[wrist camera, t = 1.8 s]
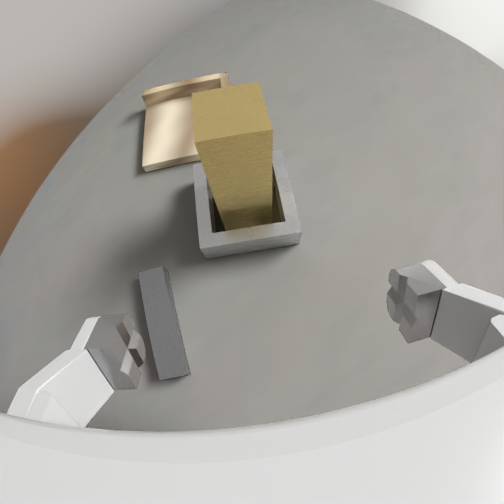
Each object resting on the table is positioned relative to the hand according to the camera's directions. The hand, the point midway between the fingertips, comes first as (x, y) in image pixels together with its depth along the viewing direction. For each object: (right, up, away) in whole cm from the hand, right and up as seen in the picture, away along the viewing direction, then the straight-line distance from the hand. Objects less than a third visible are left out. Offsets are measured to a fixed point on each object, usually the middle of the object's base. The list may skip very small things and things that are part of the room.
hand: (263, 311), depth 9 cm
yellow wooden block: (-1, +6, +21) cm, 22 cm away
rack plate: (-8, +17, +25) cm, 31 cm away
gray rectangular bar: (-8, -5, +18) cm, 21 cm away
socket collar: (-1, +6, +21) cm, 22 cm away
